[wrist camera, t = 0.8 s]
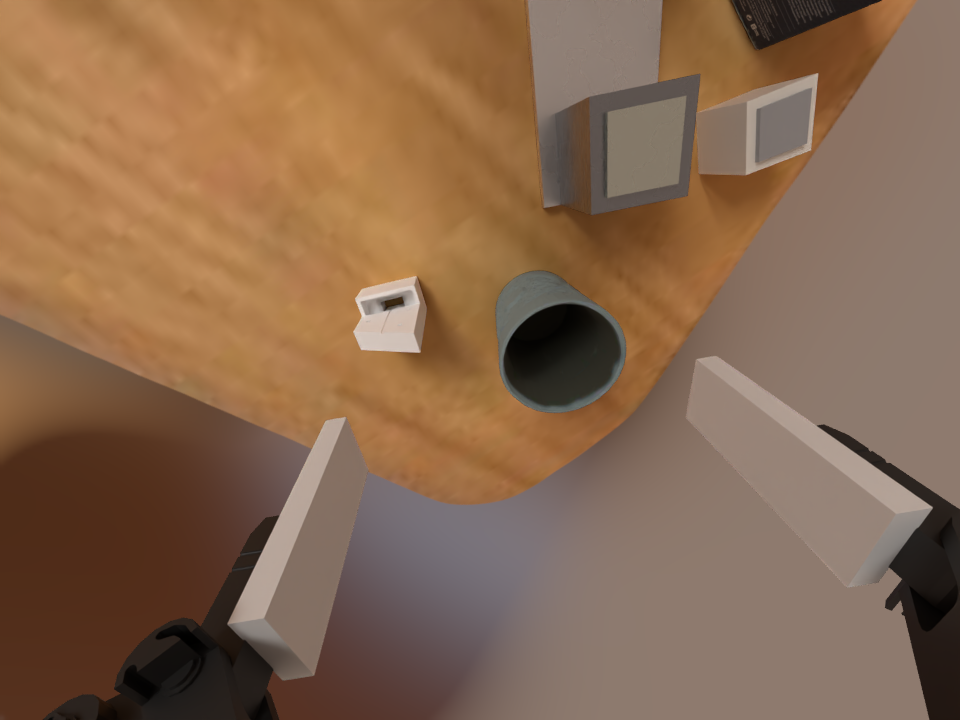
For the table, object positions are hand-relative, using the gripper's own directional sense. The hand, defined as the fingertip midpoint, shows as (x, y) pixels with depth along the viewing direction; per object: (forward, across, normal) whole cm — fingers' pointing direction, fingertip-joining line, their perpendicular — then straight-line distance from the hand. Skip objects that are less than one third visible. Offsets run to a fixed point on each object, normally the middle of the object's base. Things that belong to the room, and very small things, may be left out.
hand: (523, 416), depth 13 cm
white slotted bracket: (+25, -9, -2) cm, 27 cm away
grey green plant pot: (+25, +5, -6) cm, 26 cm away
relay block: (+25, +24, +8) cm, 35 cm away
